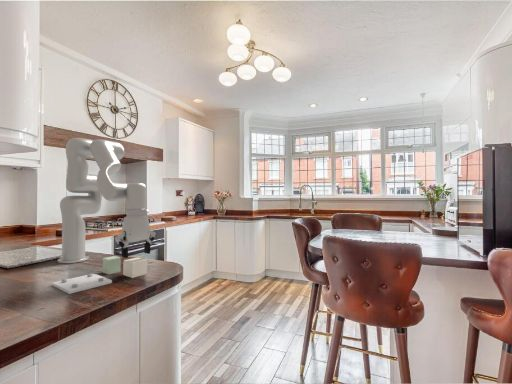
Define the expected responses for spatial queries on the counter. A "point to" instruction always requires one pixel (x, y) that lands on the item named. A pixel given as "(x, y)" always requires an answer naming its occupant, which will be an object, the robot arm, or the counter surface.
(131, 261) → the cream block
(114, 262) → the sage block
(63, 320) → the counter surface
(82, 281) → the plate
